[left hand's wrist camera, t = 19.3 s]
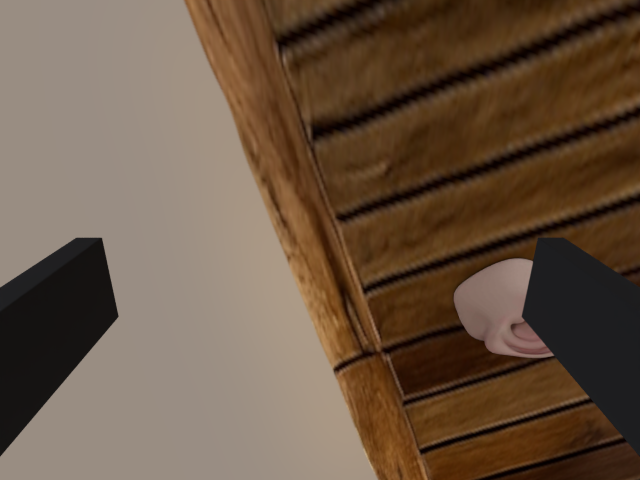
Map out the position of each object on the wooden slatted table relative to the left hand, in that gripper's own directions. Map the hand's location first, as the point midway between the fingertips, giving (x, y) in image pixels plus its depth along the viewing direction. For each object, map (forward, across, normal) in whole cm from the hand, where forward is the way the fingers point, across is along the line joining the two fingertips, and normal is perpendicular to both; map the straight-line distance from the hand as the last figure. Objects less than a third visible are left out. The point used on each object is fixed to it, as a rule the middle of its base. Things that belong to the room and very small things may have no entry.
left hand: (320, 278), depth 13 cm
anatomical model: (+28, +22, -18) cm, 40 cm away
